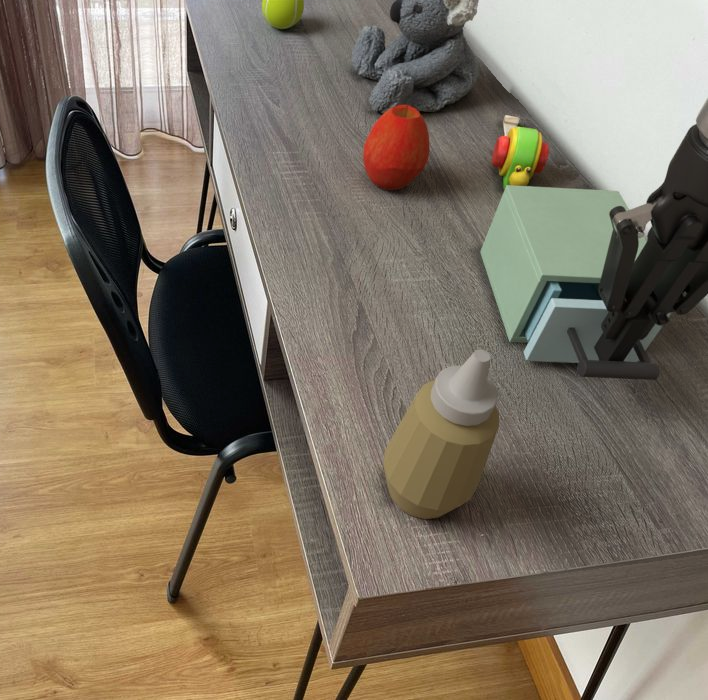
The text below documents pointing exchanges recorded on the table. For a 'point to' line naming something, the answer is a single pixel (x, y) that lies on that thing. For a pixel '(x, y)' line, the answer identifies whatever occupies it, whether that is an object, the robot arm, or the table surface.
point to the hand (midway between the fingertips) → (605, 357)
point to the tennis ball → (282, 12)
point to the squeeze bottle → (444, 440)
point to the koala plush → (419, 56)
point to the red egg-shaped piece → (396, 148)
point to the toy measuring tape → (519, 153)
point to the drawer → (580, 333)
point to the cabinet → (545, 245)
